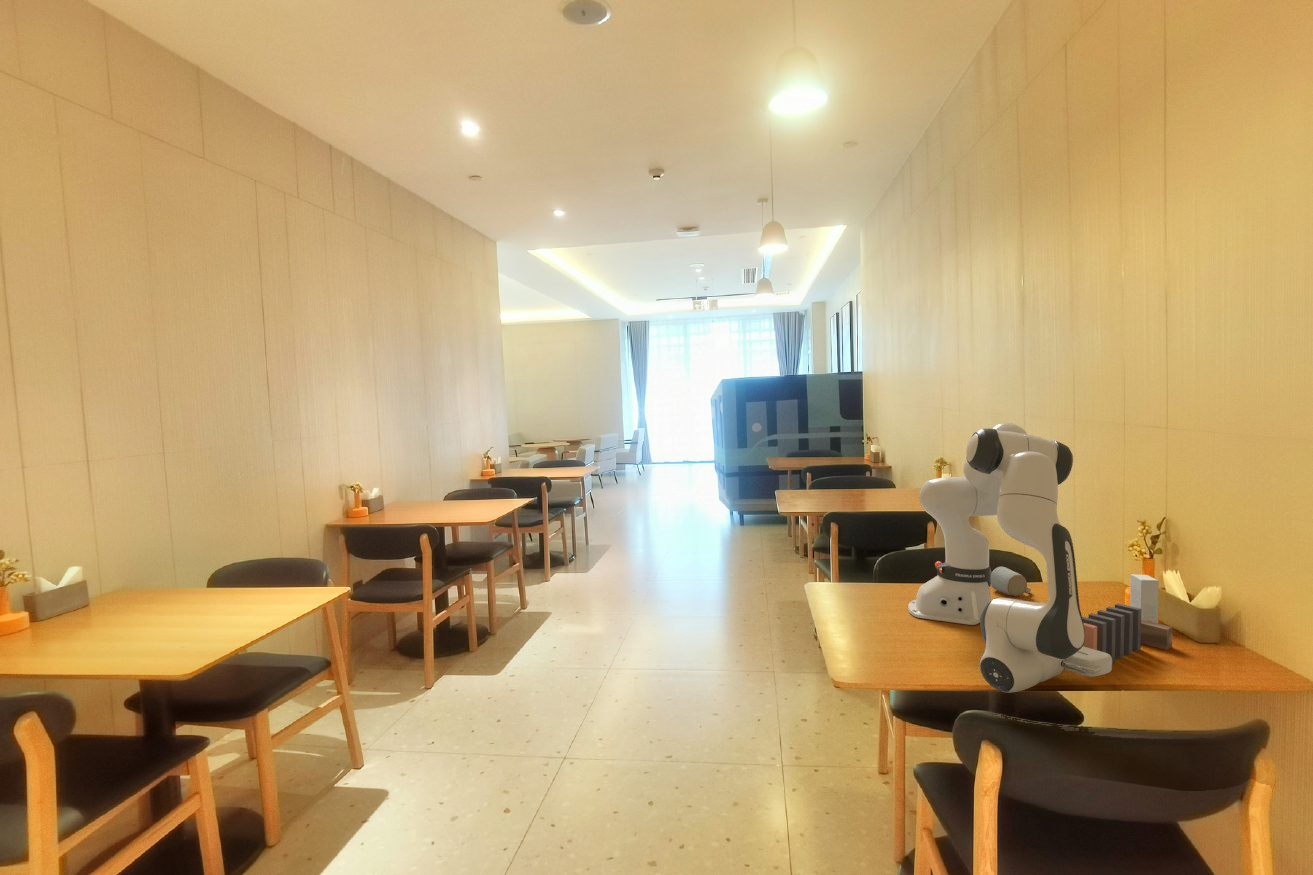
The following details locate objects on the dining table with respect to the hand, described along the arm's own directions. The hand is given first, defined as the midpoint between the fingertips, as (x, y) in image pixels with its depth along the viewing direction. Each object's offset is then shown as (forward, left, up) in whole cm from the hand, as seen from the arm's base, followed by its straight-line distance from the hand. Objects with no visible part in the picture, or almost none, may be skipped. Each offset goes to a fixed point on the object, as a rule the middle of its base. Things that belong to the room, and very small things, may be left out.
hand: (1073, 642), depth 145 cm
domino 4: (+11, +12, -6) cm, 17 cm away
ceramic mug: (-2, +59, -7) cm, 60 cm away
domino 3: (+8, +9, -6) cm, 14 cm away
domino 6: (+16, +19, -6) cm, 25 cm away
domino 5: (+13, +16, -6) cm, 21 cm away
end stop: (+20, +24, -6) cm, 32 cm away
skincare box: (+26, +41, -7) cm, 49 cm away
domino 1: (+2, +3, -6) cm, 7 cm away
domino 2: (+5, +6, -6) cm, 10 cm away
